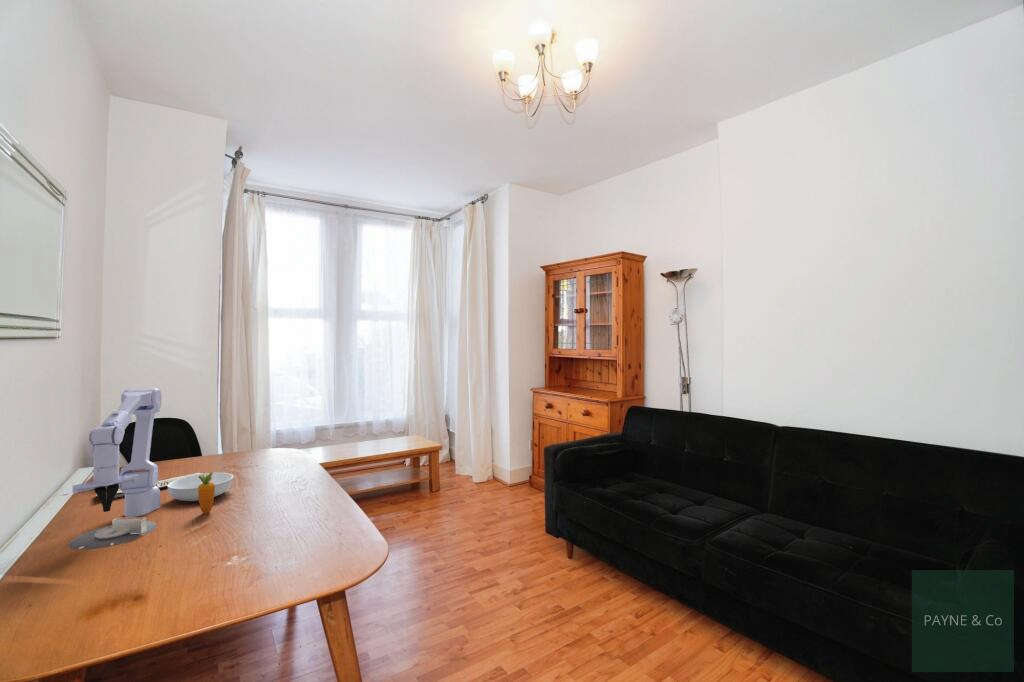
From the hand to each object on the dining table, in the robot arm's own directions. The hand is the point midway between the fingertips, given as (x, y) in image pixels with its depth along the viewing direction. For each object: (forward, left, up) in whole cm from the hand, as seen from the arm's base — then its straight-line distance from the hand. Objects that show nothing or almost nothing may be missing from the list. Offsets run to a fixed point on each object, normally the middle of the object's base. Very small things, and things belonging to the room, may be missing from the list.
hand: (106, 510), depth 131 cm
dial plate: (-3, 0, -9) cm, 10 cm away
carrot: (-21, +15, -10) cm, 27 cm away
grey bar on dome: (-3, +2, -8) cm, 9 cm away
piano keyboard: (-46, -31, -10) cm, 56 cm away
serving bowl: (-38, -2, -10) cm, 39 cm away
